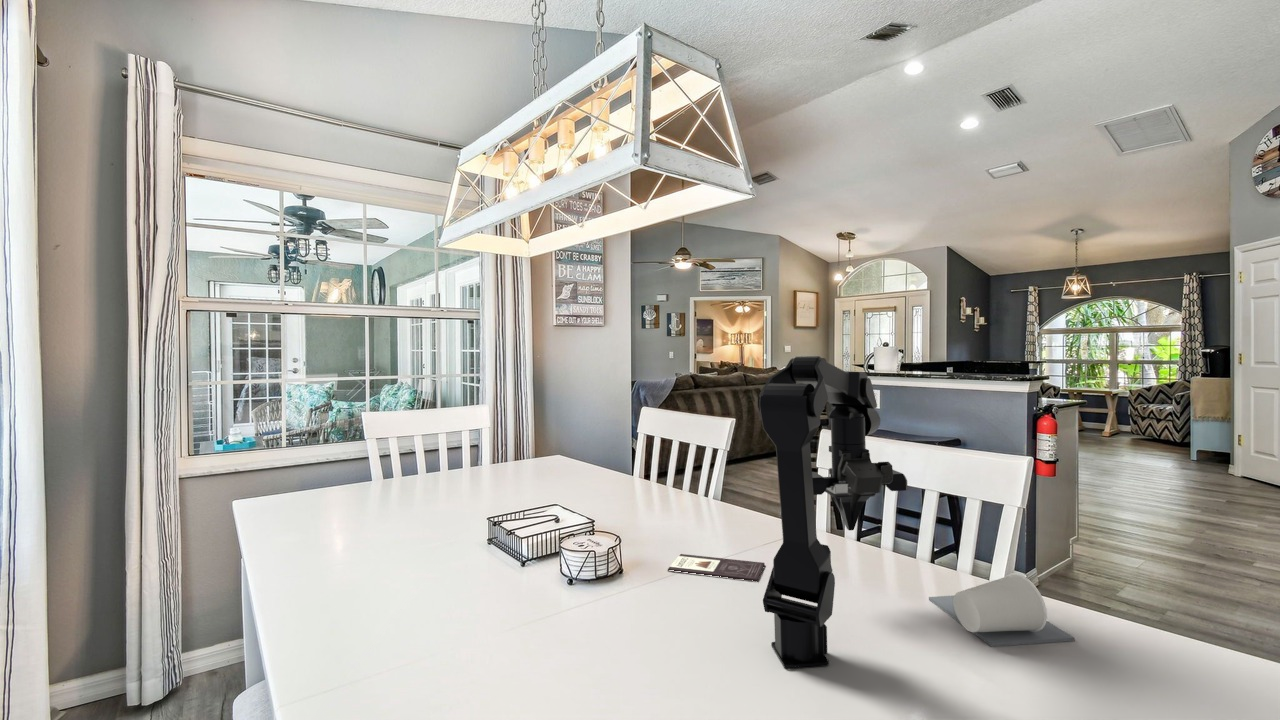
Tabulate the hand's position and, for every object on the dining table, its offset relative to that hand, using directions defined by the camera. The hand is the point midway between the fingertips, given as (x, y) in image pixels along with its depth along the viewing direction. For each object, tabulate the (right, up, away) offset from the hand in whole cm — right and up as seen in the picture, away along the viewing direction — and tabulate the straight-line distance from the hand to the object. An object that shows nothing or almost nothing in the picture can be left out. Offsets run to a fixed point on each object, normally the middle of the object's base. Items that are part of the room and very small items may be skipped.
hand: (850, 529), depth 102 cm
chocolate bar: (-22, -13, +15) cm, 30 cm away
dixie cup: (+12, -8, -15) cm, 21 cm away
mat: (+20, -12, -9) cm, 25 cm away
